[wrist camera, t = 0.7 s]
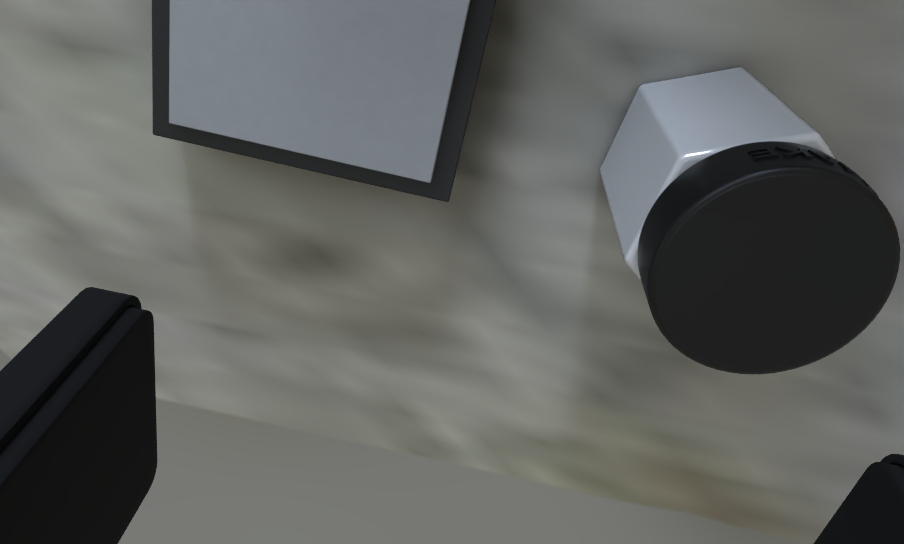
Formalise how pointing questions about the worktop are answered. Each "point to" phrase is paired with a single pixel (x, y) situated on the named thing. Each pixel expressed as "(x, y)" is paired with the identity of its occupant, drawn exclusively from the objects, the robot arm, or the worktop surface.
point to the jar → (745, 225)
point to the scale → (323, 83)
